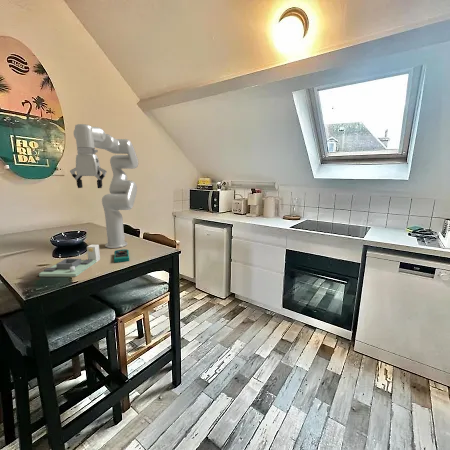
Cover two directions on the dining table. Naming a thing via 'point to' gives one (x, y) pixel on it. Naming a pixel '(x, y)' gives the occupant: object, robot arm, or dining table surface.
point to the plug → (93, 252)
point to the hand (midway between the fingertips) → (90, 187)
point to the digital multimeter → (121, 255)
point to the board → (68, 268)
